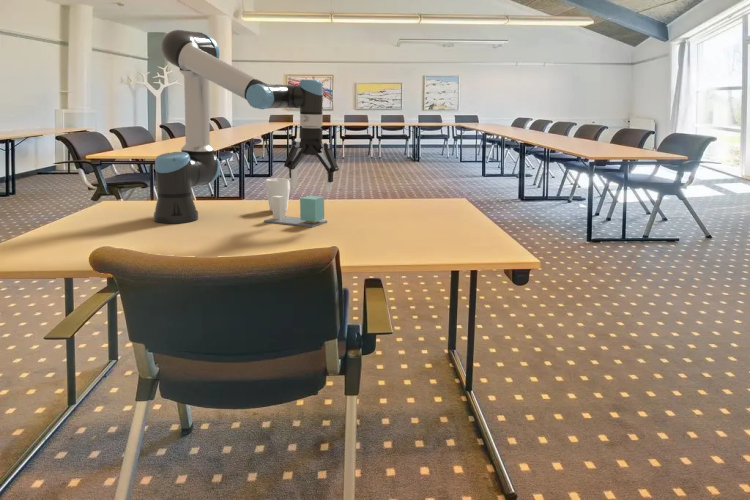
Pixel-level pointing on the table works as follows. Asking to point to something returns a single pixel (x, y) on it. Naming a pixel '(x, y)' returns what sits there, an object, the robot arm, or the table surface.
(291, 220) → the post board
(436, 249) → the table surface
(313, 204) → the teal cube block
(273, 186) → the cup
